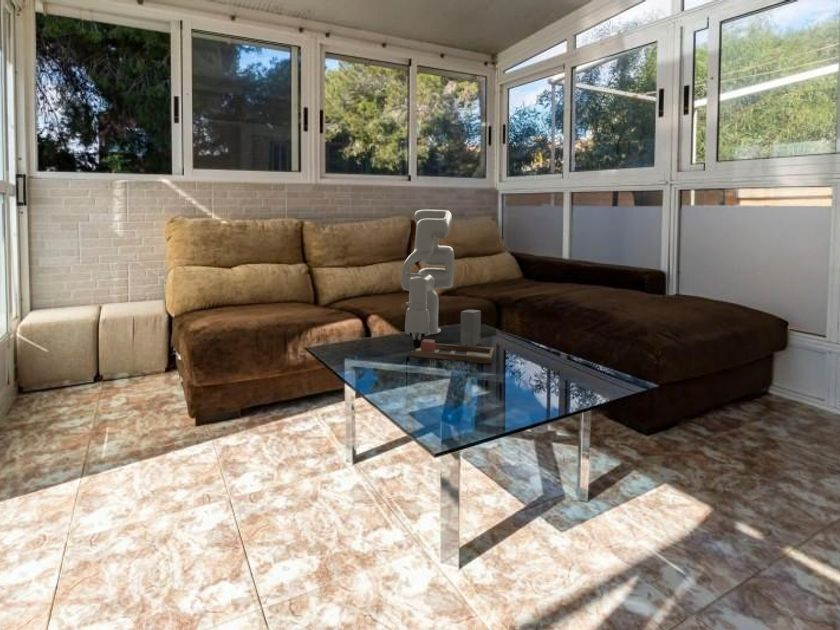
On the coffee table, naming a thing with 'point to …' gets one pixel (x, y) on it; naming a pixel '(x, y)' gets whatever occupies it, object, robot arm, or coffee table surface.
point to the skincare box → (470, 327)
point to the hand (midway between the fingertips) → (417, 347)
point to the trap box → (458, 353)
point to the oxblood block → (428, 345)
